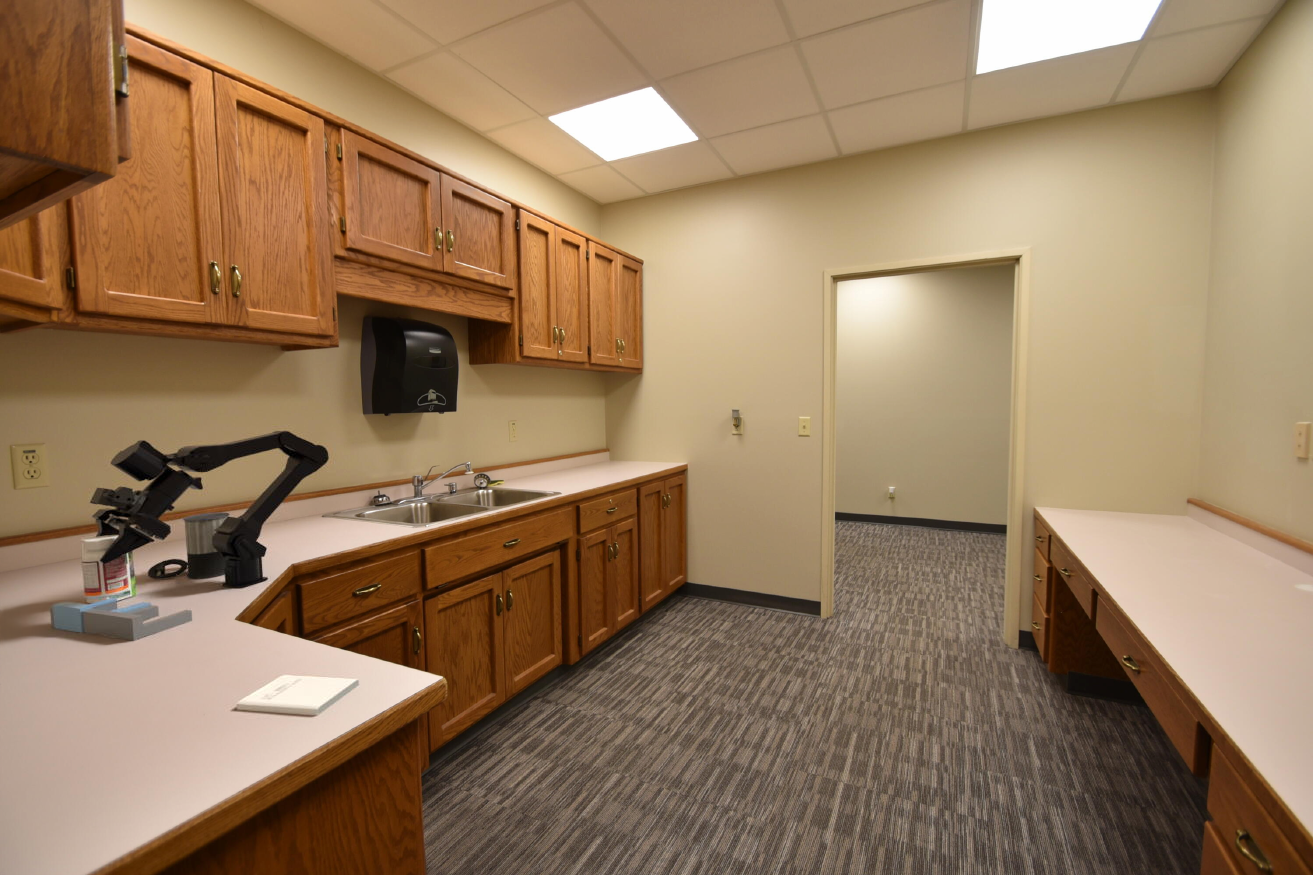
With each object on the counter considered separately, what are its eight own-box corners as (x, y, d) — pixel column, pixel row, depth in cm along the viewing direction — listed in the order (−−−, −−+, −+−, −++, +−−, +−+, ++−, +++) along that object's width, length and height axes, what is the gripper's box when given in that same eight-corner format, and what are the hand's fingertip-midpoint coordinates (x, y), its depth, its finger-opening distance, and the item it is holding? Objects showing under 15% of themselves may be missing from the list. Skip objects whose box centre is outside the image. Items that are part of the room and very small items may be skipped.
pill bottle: (132, 586, 113) (127, 532, 112) (124, 595, 108) (118, 538, 107) (90, 593, 110) (85, 537, 109) (80, 602, 104) (74, 543, 104)
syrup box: (107, 604, 118) (101, 537, 117) (85, 603, 119) (80, 536, 118) (137, 595, 123) (132, 531, 122) (116, 594, 124) (111, 530, 123)
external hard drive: (317, 719, 74) (236, 713, 75) (359, 688, 82) (285, 683, 84) (316, 708, 73) (235, 701, 75) (359, 677, 82) (284, 672, 83)
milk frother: (237, 573, 139) (233, 515, 138) (152, 589, 128) (148, 525, 127) (225, 562, 149) (222, 508, 148) (146, 576, 137) (142, 518, 136)
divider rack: (192, 620, 108) (190, 597, 108) (132, 641, 99) (130, 615, 98) (112, 609, 115) (111, 587, 115) (49, 627, 106) (47, 603, 105)
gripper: (101, 469, 115) (29, 534, 105) (145, 473, 106) (72, 543, 97) (152, 500, 122) (89, 563, 113) (197, 505, 114) (133, 573, 105)
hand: (94, 560), depth 107 cm, fingers closed on pill bottle, 6 cm apart
